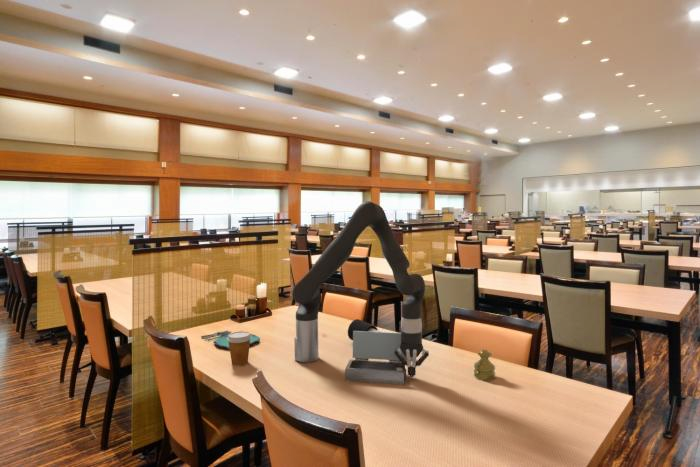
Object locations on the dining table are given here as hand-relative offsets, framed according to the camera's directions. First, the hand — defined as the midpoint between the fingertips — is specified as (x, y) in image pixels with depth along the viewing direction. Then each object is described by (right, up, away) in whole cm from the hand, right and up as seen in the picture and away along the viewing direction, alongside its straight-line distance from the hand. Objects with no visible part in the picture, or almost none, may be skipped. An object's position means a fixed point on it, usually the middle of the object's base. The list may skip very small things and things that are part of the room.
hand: (411, 376), depth 145 cm
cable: (-8, 0, +32) cm, 33 cm away
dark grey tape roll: (-4, -1, +1) cm, 5 cm away
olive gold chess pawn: (+27, -1, +2) cm, 27 cm away
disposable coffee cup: (-67, -1, +18) cm, 70 cm away
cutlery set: (-80, 0, +47) cm, 92 cm away
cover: (-12, +9, +7) cm, 16 cm away
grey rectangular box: (-12, -1, +2) cm, 13 cm away
